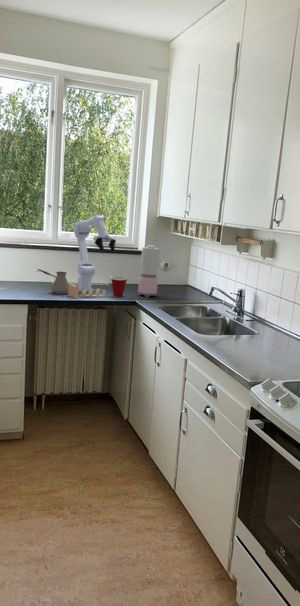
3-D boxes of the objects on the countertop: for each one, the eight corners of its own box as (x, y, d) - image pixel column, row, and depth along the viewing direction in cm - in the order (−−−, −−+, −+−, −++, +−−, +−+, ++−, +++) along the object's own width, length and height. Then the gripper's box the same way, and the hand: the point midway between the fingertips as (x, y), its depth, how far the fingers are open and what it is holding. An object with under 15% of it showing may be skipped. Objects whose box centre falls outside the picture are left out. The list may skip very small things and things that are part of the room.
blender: (149, 298, 319) (153, 247, 313) (133, 294, 326) (137, 244, 319) (162, 295, 332) (167, 246, 326) (147, 292, 339) (151, 244, 332)
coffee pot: (65, 291, 319) (66, 267, 316) (73, 294, 310) (74, 270, 307) (32, 292, 307) (33, 267, 304) (40, 295, 298) (41, 270, 295)
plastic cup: (105, 295, 315) (107, 276, 313) (114, 293, 325) (116, 275, 322) (120, 298, 310) (122, 279, 308) (129, 296, 320) (131, 277, 318)
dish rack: (74, 294, 310) (74, 288, 309) (97, 293, 321) (98, 287, 320) (83, 298, 302) (83, 292, 301) (107, 296, 312) (107, 291, 311)
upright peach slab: (67, 295, 306) (68, 284, 304) (71, 295, 307) (72, 284, 306) (74, 298, 300) (75, 286, 298) (78, 298, 301) (78, 286, 300)
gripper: (95, 226, 299) (100, 245, 294) (115, 229, 308) (121, 248, 302) (89, 233, 304) (95, 252, 298) (110, 236, 313) (115, 255, 307)
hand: (108, 251), depth 301 cm, fingers open, 7 cm apart
